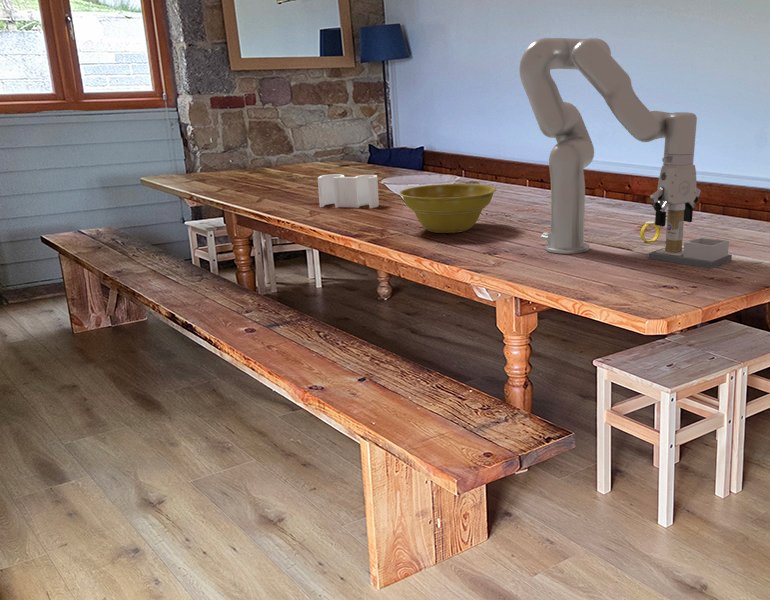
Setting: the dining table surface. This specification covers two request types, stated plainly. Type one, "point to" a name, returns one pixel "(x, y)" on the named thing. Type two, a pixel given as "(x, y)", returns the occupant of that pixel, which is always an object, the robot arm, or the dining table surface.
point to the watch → (645, 228)
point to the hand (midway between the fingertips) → (673, 223)
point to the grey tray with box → (697, 253)
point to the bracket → (348, 190)
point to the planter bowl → (448, 205)
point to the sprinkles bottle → (675, 227)
